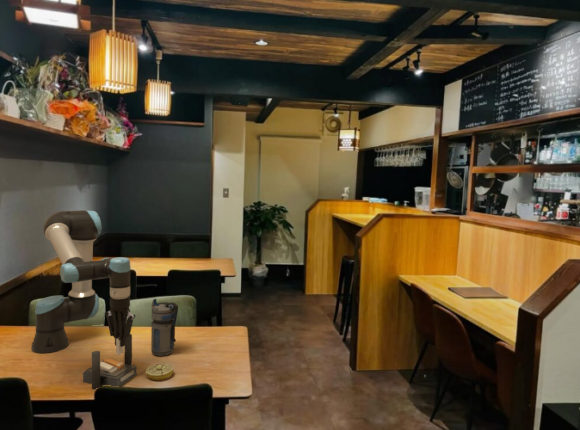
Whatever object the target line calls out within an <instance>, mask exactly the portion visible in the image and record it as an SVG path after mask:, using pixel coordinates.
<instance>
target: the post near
mask: <svg viewBox="0 0 580 430" xmlns="http://www.w3.org/2000/svg"><path fill="white" fill-rule="evenodd" d="M100 362H101V351H100V350H95V351H94V350H93V351H92V352H91V367H92V384H91V390H95V389H96V388H98V387H100V388H101V385H100ZM96 390H97V389H96Z"/></svg>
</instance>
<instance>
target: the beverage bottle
mask: <svg viewBox="0 0 580 430" xmlns="http://www.w3.org/2000/svg"><path fill="white" fill-rule="evenodd" d="M178 311H179V305H178V304H176V302H167V301H166V302H165V301H162V302H161V301H160V302H157V298H154V299H153V300H152V302H151V319H152V322H151V326H150V327H151V331H150V332H151V333H150V334H151V337H150V338H151V342H150V343H151V347H150V349H151V350H150V351H151V353H152V355H154V356H157V357H165V356H168V355H171V354H172V353H173V352H174V350H175V343H176V342H177V339H176V338H175V337H176V336H175V335H176V324H177V318H178V313H179V312H178Z"/></svg>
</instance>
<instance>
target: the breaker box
mask: <svg viewBox="0 0 580 430" xmlns="http://www.w3.org/2000/svg"><path fill="white" fill-rule="evenodd" d="M104 360H105V359H103V360H100V362H104ZM122 363H123V364H124V366H123V367H121V368H120V369H118V368H117V371H115V372H113V373H110V372H108V371H106V370H103V369H101V368H100V387H101V386H103V385H111V386H120V387H122V386H124V384H126V383H128V382H129V381H130V380H132V379H133V378H135V377H136V376H137V375H138V373H137V372H138V365H134V364H132V365H130V364H125V363H124V362H122ZM82 382H83V383H87V384H91V385H92V366H91V367H89V368H87V369H85V370H84V371H82ZM103 387H104V386H103Z"/></svg>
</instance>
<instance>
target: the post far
mask: <svg viewBox="0 0 580 430" xmlns="http://www.w3.org/2000/svg"><path fill="white" fill-rule="evenodd" d="M123 355H124V358H123V359H124V362H123V363H125V364H130V365H133V335H132V334H131V333H130V336H129V337H127V338H125V346H124V353H123Z"/></svg>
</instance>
